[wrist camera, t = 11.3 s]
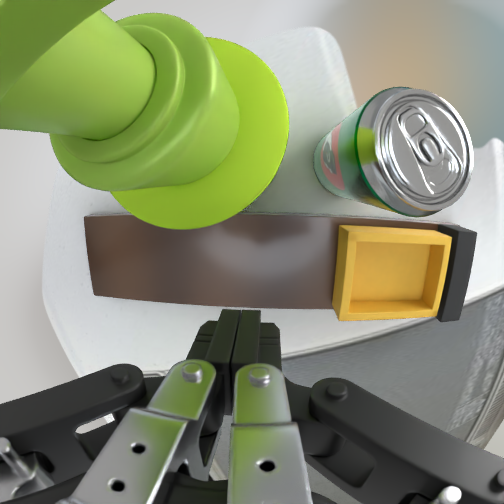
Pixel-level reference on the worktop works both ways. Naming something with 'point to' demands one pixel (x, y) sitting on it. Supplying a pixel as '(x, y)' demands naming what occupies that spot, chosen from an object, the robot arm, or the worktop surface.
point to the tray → (389, 272)
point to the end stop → (456, 271)
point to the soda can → (398, 153)
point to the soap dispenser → (143, 108)
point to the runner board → (224, 259)
